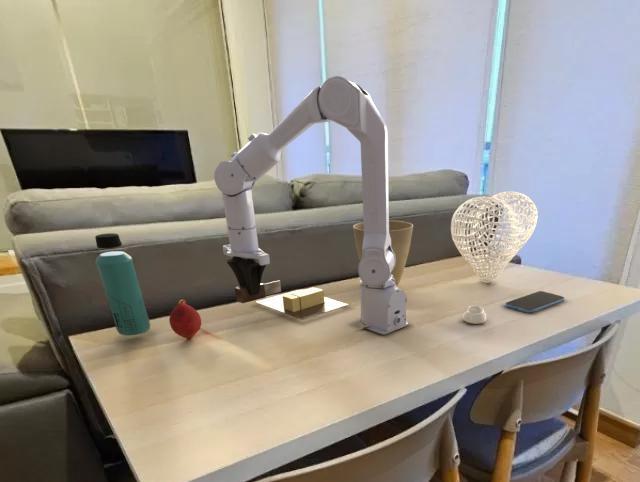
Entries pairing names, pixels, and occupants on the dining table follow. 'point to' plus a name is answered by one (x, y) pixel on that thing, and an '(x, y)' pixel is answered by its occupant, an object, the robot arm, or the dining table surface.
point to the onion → (185, 320)
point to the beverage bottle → (121, 287)
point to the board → (305, 313)
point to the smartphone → (534, 301)
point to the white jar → (475, 315)
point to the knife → (265, 289)
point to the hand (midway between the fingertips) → (250, 292)
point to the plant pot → (399, 244)
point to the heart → (477, 216)
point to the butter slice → (291, 302)
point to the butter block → (310, 297)
